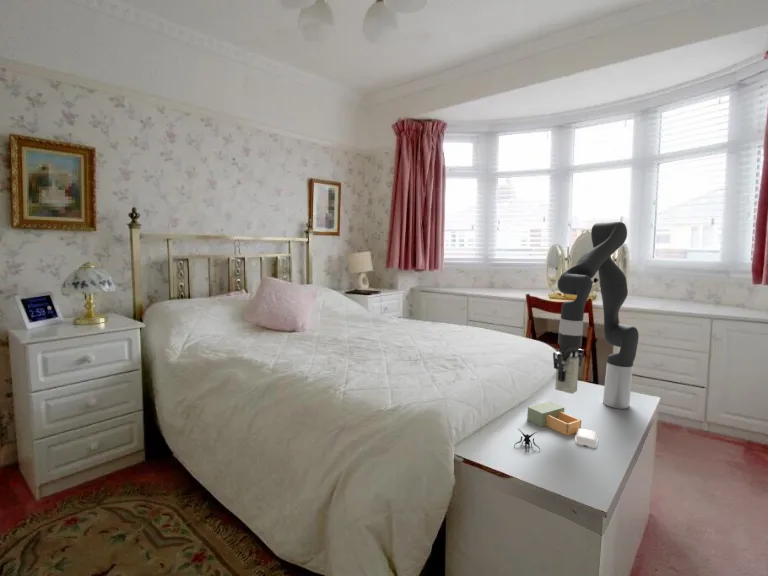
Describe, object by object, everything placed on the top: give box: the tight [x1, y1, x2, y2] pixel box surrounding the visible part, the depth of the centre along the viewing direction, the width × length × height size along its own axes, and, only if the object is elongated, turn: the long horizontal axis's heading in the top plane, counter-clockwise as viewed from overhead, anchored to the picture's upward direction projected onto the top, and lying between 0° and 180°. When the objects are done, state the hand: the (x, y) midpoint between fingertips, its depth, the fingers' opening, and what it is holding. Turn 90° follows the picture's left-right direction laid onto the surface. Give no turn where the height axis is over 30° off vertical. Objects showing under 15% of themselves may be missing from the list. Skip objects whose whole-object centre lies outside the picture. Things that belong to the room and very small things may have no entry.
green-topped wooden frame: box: [526, 401, 582, 437], centre depth 151 cm, size 12×15×5 cm
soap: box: [574, 427, 599, 449], centre depth 141 cm, size 9×7×3 cm
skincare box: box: [554, 357, 579, 394], centre depth 147 cm, size 6×4×12 cm
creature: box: [513, 429, 541, 453], centre depth 134 cm, size 8×5×8 cm
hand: (566, 379), depth 147 cm, fingers closed on skincare box, 5 cm apart
